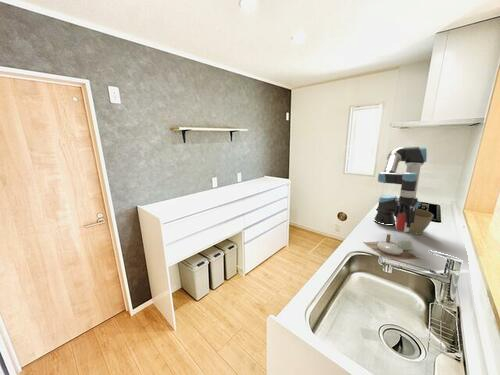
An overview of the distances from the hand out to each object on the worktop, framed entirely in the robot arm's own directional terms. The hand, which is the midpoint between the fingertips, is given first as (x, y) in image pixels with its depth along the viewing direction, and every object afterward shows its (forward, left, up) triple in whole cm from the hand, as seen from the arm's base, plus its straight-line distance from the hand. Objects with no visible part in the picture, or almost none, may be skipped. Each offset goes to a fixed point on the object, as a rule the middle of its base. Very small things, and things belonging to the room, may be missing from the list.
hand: (401, 229), depth 137 cm
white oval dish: (+14, -15, -7) cm, 22 cm away
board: (+14, -19, -9) cm, 24 cm away
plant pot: (-13, +23, -8) cm, 28 cm away
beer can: (0, 0, -1) cm, 1 cm away
